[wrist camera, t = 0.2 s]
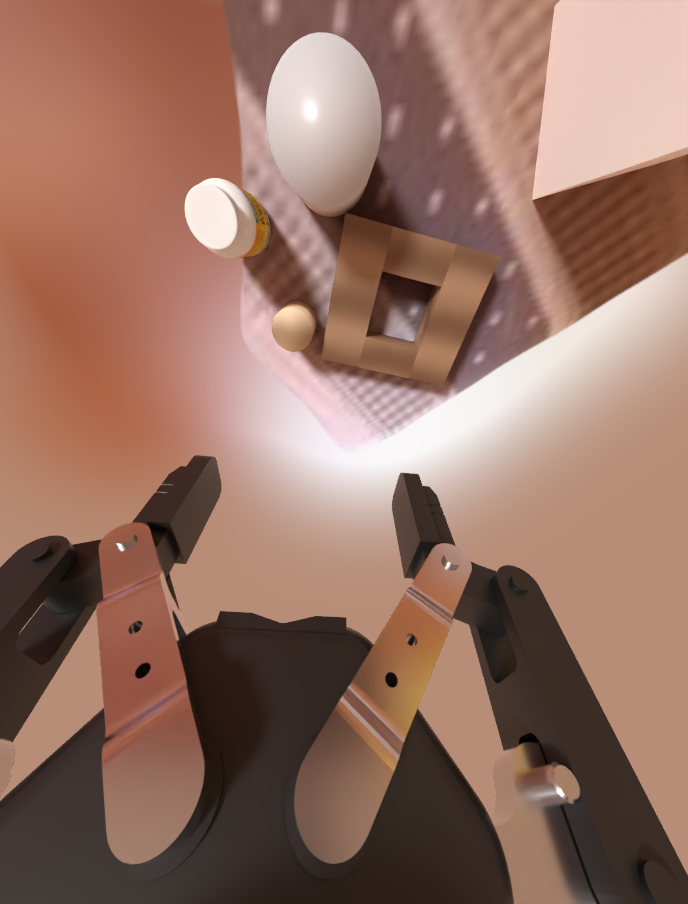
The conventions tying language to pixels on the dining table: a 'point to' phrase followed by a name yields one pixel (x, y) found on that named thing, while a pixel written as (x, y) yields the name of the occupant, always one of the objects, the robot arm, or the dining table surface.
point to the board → (411, 256)
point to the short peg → (294, 326)
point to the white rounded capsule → (324, 122)
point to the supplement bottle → (227, 219)
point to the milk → (612, 91)
